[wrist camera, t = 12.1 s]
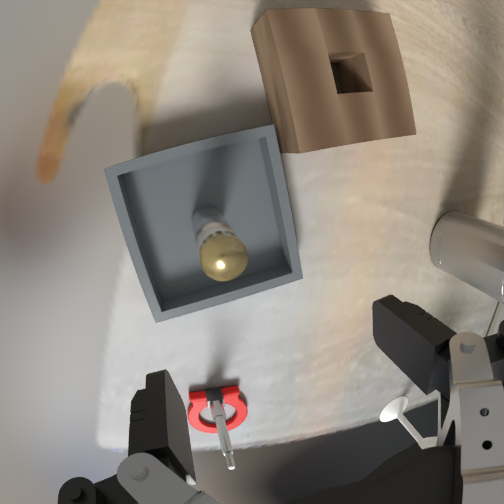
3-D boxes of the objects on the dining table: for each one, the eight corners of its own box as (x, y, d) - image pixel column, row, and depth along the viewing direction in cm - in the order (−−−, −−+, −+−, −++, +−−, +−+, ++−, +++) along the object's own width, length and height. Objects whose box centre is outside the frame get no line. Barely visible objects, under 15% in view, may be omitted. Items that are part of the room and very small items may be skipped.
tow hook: (247, 422, 44) (243, 381, 41) (270, 490, 33) (270, 456, 29) (192, 431, 43) (181, 390, 39) (204, 502, 31) (191, 470, 27)
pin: (218, 201, 32) (242, 229, 21) (226, 231, 33) (252, 273, 22) (187, 209, 32) (194, 242, 21) (196, 239, 33) (207, 286, 22)
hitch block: (360, 27, 30) (389, 13, 25) (384, 134, 35) (416, 134, 30) (250, 30, 28) (266, 9, 23) (278, 152, 33) (299, 153, 27)
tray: (263, 126, 32) (273, 124, 29) (291, 267, 37) (303, 278, 34) (111, 166, 29) (103, 168, 26) (156, 307, 35) (155, 322, 32)
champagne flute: (374, 425, 52) (440, 511, 30) (386, 400, 51) (462, 489, 28) (400, 417, 54) (466, 495, 32) (412, 393, 52) (487, 472, 30)
